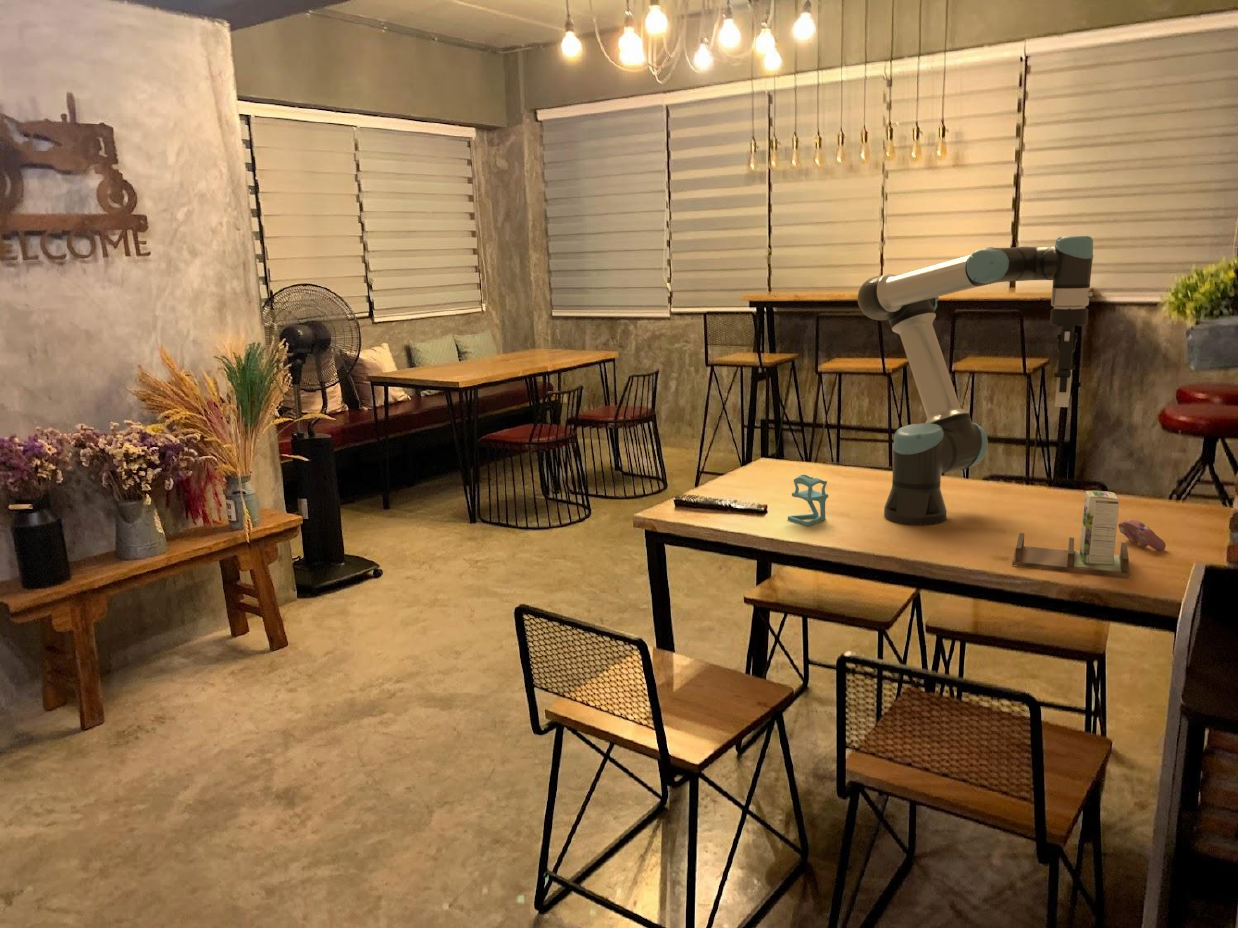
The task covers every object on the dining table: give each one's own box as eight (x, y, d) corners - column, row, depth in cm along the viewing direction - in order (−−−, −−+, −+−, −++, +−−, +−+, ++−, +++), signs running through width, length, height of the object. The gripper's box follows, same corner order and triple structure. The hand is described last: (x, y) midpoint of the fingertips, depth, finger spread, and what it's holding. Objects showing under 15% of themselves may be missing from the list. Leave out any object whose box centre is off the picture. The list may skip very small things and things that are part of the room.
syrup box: (1078, 555, 196) (1083, 490, 193) (1109, 557, 195) (1114, 491, 191) (1083, 563, 191) (1088, 496, 188) (1114, 565, 189) (1120, 498, 186)
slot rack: (1012, 565, 195) (1013, 547, 194) (1016, 549, 205) (1017, 532, 204) (1129, 578, 185) (1131, 559, 184) (1127, 560, 196) (1129, 542, 195)
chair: (832, 521, 232) (833, 475, 229) (807, 526, 228) (808, 479, 225) (811, 514, 238) (812, 470, 236) (787, 519, 234) (787, 474, 232)
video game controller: (1122, 545, 211) (1111, 520, 209) (1139, 536, 211) (1129, 510, 209) (1151, 559, 201) (1140, 532, 199) (1169, 548, 201) (1158, 522, 199)
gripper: (1088, 311, 190) (1080, 411, 195) (1088, 304, 212) (1081, 395, 217) (1048, 311, 194) (1041, 409, 198) (1053, 304, 215) (1046, 393, 220)
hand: (1062, 402), depth 207 cm, fingers open, 13 cm apart
